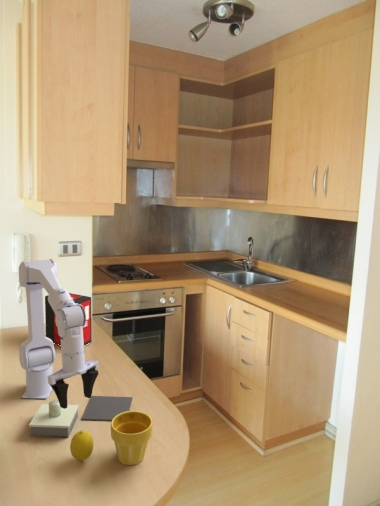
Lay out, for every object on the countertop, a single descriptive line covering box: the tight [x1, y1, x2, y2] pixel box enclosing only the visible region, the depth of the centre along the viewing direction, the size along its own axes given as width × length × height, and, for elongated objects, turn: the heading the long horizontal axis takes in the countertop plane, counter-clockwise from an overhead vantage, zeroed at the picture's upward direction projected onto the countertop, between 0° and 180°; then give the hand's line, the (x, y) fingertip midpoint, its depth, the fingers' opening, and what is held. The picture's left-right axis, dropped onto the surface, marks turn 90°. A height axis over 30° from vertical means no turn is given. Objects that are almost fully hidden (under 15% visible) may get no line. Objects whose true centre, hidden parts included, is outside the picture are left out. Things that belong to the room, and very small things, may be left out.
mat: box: [81, 395, 133, 422], centre depth 128 cm, size 13×13×1 cm
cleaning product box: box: [44, 292, 92, 346], centre depth 176 cm, size 16×9×20 cm, turn 66°
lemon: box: [69, 430, 94, 462], centre depth 104 cm, size 6×6×8 cm
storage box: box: [30, 409, 79, 439], centre depth 118 cm, size 10×10×3 cm
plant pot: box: [110, 410, 154, 466], centre depth 106 cm, size 10×10×10 cm
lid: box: [28, 399, 80, 428], centre depth 118 cm, size 11×11×5 cm
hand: (76, 402), depth 112 cm, fingers open, 7 cm apart
